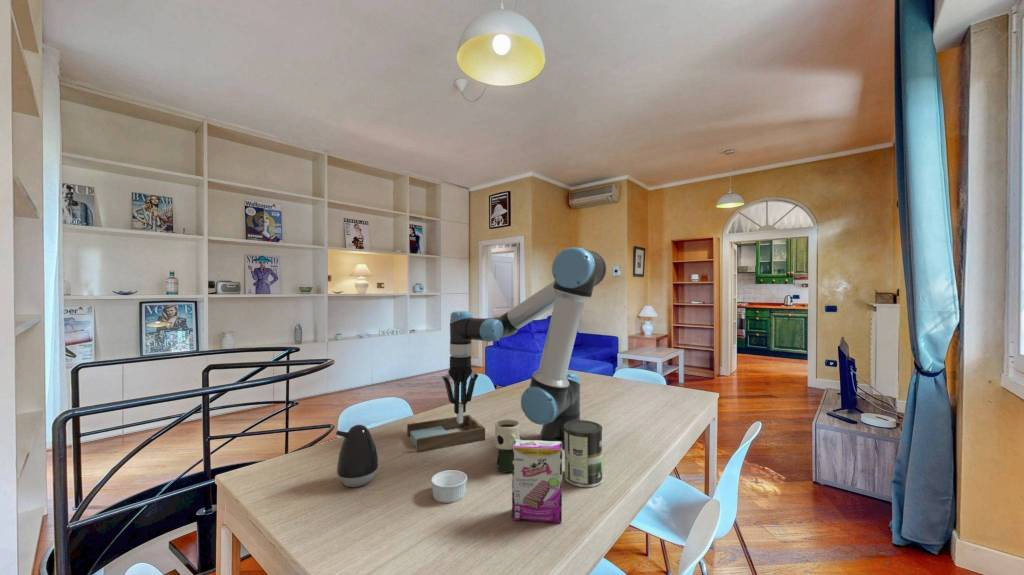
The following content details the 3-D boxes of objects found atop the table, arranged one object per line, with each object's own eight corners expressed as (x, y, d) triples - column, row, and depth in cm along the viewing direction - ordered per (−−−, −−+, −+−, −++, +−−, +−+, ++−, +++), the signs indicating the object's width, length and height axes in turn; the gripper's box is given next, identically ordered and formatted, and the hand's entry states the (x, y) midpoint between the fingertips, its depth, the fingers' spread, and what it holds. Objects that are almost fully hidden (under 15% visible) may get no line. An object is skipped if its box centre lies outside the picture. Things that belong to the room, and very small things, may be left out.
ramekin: (435, 486, 102) (435, 469, 102) (469, 486, 101) (469, 469, 101) (427, 504, 93) (427, 486, 93) (464, 505, 93) (464, 487, 93)
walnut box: (485, 439, 133) (485, 428, 133) (417, 452, 123) (417, 439, 123) (469, 425, 147) (469, 414, 147) (407, 435, 137) (407, 424, 137)
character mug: (489, 463, 115) (489, 419, 115) (512, 459, 117) (512, 416, 117) (502, 480, 105) (502, 431, 105) (526, 475, 107) (526, 428, 107)
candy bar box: (511, 521, 86) (511, 447, 86) (513, 509, 91) (513, 438, 91) (562, 524, 85) (562, 448, 85) (562, 511, 90) (561, 440, 90)
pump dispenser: (336, 477, 106) (336, 422, 106) (376, 470, 110) (376, 416, 110) (335, 495, 97) (335, 434, 97) (379, 487, 101) (379, 428, 101)
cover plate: (449, 444, 130) (449, 435, 130) (416, 450, 125) (416, 441, 125) (441, 434, 139) (441, 426, 139) (410, 439, 134) (410, 431, 134)
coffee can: (598, 469, 111) (598, 419, 111) (606, 487, 100) (606, 433, 100) (561, 469, 111) (561, 419, 111) (566, 487, 100) (566, 432, 100)
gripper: (474, 352, 144) (473, 416, 144) (439, 354, 138) (438, 421, 138) (481, 355, 137) (480, 422, 137) (445, 358, 131) (444, 428, 131)
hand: (459, 422), depth 137 cm, fingers closed
